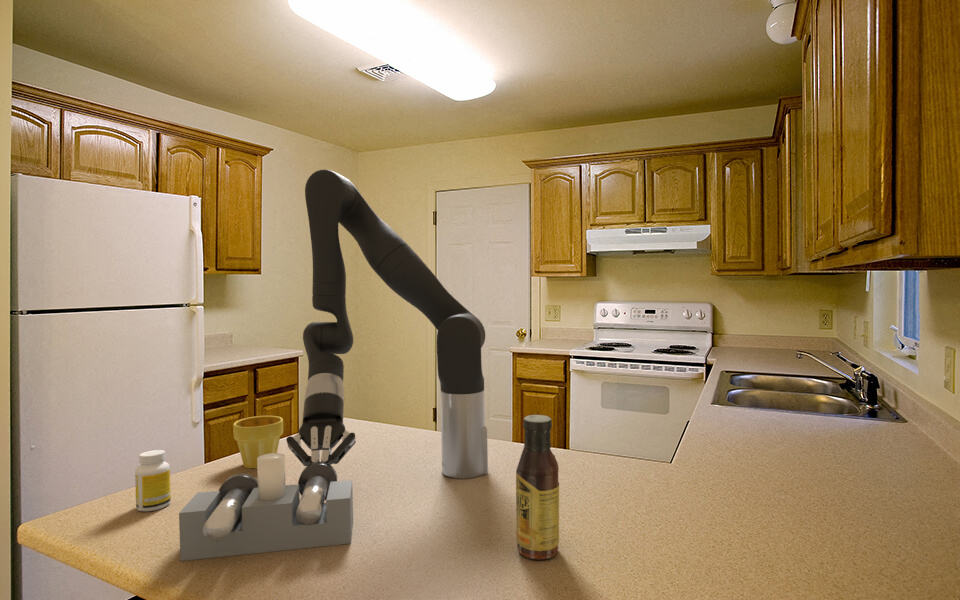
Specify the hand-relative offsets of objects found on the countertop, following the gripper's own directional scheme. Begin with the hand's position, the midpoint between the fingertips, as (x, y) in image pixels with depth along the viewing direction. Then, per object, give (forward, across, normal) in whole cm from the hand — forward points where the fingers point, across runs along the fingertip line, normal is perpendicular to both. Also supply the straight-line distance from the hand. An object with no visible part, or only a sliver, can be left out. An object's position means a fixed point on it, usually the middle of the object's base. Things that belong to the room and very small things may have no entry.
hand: (318, 485), depth 95 cm
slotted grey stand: (+10, -6, -4) cm, 13 cm away
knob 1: (+9, -12, -6) cm, 16 cm away
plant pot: (-18, -16, +24) cm, 34 cm away
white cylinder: (+5, -6, -9) cm, 12 cm away
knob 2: (+7, 0, -4) cm, 8 cm away
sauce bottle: (+20, +33, -13) cm, 41 cm away
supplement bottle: (-3, -30, +10) cm, 32 cm away
